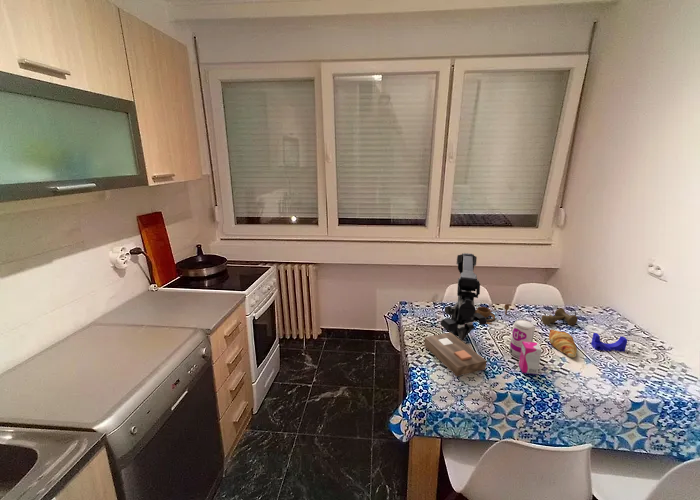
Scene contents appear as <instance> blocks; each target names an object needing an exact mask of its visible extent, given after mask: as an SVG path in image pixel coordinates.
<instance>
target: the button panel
mask: <svg viewBox="0 0 700 500" xmlns="http://www.w3.org/2000/svg"><path fill="white" fill-rule="evenodd" d="M444 338H448V339H449V340H450V341H451V342H452V343H453V344H449V345H443V344H442V343H441V342H439V341H438V340H439V339H444ZM423 341H424V344H423V345H424V347H426V348H427V350H429V351H430V352H431V353H432V354H433V355H434V356H435V357H436V358H437V359H438V360H439V361H440V362H441V363H442V364H443V365H444V366H445V367H446V368H447V369H449V370H450V372H452V374H454V375H455V377H460V376H466V375H468V374H473V373H476V372H481V371H484V370H486V369H487V360H486V359H485V358H484V357H482V356H481V354H479V353H477V352H476V351H475V350H474V349H473V348H471V347H470V346H469V345H467V344H466V343H464V342H463V341H461V340H460V338H459V337H456V336H455V335H454V334H453V333H451V332H450V331H449V332H446V333H440V334H435V335H429V336H425V337H424V339H423ZM462 350H465V351H466V352H467V353H468V354H470V355H471V356H472V357H471V359H467V360H463V361H461V360H460V359H459V358H458V357H457V356H455V355H454V352H457V351H462Z"/></svg>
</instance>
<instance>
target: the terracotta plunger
mask: <svg viewBox="0 0 700 500" xmlns="http://www.w3.org/2000/svg"><path fill="white" fill-rule="evenodd" d="M454 355H455V356H457V357H458V358H459V359H460V360H461V361H463V360H467V359H471V357H472V356H471V355H470V354H468V353H467V352H466V351H465V350H462V351H457V352H454Z"/></svg>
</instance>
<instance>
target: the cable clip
mask: <svg viewBox="0 0 700 500" xmlns="http://www.w3.org/2000/svg"><path fill="white" fill-rule="evenodd" d="M590 343H591V344H590V345H591V346H592V347H593V348H594V350H597V351H605V352H611V351H616V352H625V351H626V348H627V343H628V339H627V338H626V337H625V336H621V335H620V337H619V338H618V340H617V341H615V342H612V343H611V342H610V343H605V342H602V340H601V336H600V335H599V333H598V332H593V334H592V338H591V342H590Z"/></svg>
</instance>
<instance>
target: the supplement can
mask: <svg viewBox="0 0 700 500" xmlns="http://www.w3.org/2000/svg"><path fill="white" fill-rule="evenodd" d="M535 330H536V328H535V326H534V324H533V322H532V321H528V320H527V319H516V320H515V322H514V323H513V325H512V332H511V337H510V346H509V353H510V354H511V355H512V357H513V356H514V357H515V358H518V359H520V354H521V347H522V341H525V342H533V341H534V336H535Z"/></svg>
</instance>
